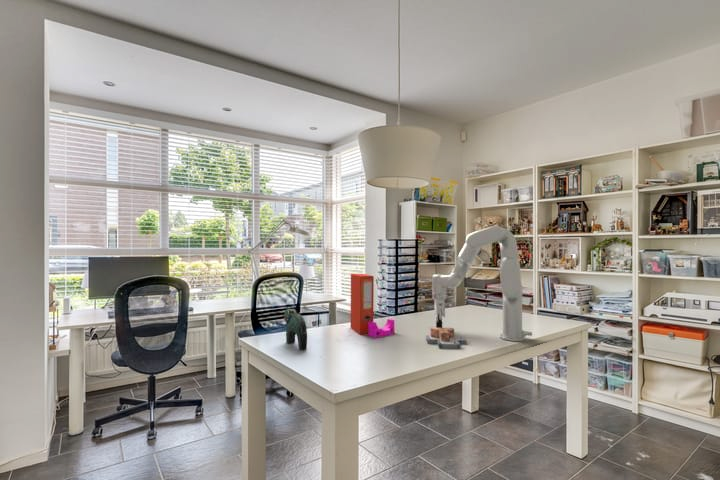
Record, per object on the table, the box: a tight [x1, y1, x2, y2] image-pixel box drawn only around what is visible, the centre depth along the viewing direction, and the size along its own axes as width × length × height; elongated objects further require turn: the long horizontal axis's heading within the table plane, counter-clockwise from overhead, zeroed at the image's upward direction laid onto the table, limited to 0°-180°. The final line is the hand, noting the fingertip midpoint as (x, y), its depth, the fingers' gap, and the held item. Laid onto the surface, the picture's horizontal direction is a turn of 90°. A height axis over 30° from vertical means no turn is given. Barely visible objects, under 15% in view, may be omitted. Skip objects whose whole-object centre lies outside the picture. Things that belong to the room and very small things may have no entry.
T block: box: [429, 327, 455, 342], centre depth 196 cm, size 12×12×4 cm
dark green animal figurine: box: [283, 304, 308, 351], centre depth 182 cm, size 20×6×20 cm, turn 33°
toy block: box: [367, 318, 395, 339], centre depth 203 cm, size 15×6×8 cm, turn 122°
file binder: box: [350, 273, 375, 336], centre depth 212 cm, size 8×17×32 cm, turn 19°
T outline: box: [425, 334, 467, 350], centre depth 184 cm, size 19×16×2 cm
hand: (439, 328), depth 211 cm, fingers closed
